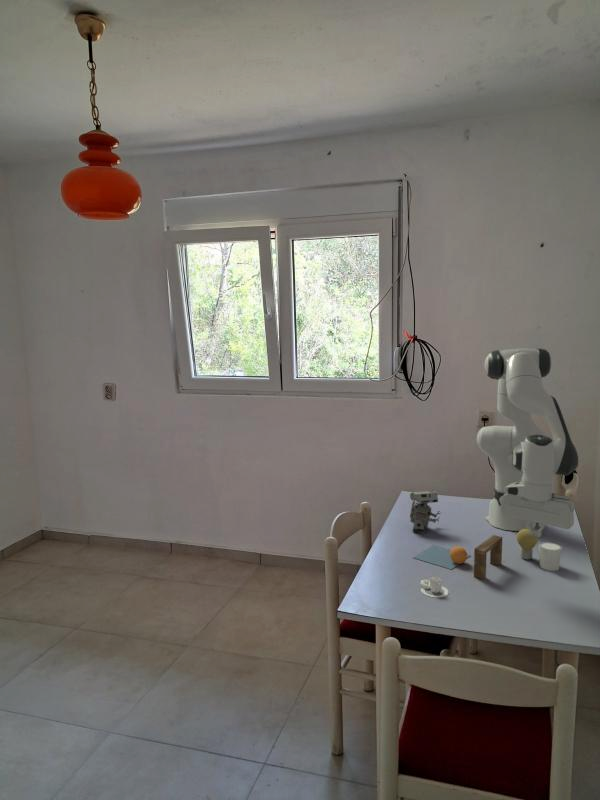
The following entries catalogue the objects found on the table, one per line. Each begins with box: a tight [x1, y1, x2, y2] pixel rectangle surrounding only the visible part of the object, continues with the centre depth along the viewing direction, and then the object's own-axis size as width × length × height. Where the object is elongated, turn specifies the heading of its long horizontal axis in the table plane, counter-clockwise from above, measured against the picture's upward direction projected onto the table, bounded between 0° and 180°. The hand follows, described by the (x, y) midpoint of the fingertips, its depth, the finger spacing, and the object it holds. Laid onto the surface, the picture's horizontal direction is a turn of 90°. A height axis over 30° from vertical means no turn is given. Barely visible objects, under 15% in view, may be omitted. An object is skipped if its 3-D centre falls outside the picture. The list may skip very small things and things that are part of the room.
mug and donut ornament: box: [419, 576, 450, 599], centre depth 159 cm, size 9×8×4 cm
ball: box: [450, 545, 468, 565], centre depth 177 cm, size 6×6×6 cm
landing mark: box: [413, 544, 471, 571], centre depth 182 cm, size 14×14×1 cm
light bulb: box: [516, 529, 538, 561], centre depth 180 cm, size 6×6×10 cm
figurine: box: [409, 490, 441, 534], centre depth 207 cm, size 9×12×15 cm
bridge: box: [473, 534, 503, 581], centre depth 171 cm, size 3×14×9 cm, turn 138°
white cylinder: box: [538, 541, 563, 572], centre depth 173 cm, size 7×7×7 cm
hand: (535, 535), depth 160 cm, fingers closed
